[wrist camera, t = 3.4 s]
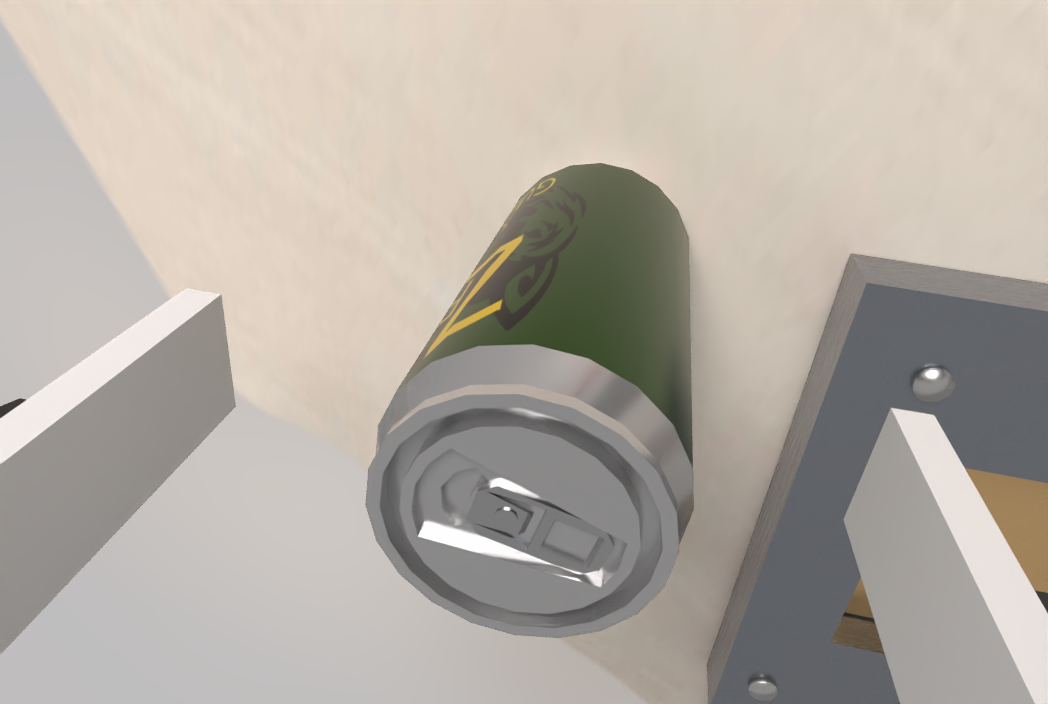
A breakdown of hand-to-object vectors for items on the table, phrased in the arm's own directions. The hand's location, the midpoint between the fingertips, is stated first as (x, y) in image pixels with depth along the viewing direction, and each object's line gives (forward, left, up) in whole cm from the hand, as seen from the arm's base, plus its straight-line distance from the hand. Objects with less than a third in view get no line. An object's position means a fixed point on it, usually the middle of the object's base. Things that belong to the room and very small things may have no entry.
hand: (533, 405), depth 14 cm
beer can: (0, 0, -9) cm, 9 cm away
